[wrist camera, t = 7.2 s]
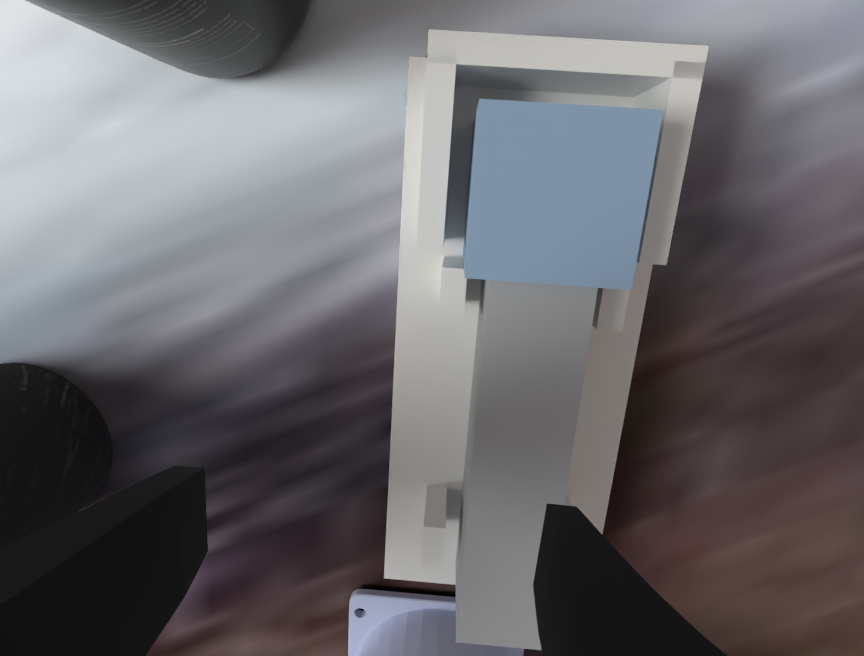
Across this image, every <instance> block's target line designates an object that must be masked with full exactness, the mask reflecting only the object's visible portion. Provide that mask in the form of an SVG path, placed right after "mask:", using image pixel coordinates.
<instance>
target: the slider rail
mask: <svg viewBox="0 0 864 656" xmlns="http://www.w3.org/2000/svg"><path fill="white" fill-rule="evenodd" d="M708 48H709V46H700V45H684V44H667V43H650V42H633V41H617V40H600V39H583V38H567V37H550V36H533V35H516V34H500V33H483V32H466V31H450V30H433V29H429V31H428V49H427V57H414V56H409V65H408V86H407V107H406V128H405V149H404V170H403V191H402V211H401V232H400V253H399V274H398V295H397V316H396V337H395V358H394V379H393V400H392V421H391V441H390V462H389V483H388V504H387V525H386V546H385V567H384V578H386V579H397V580H409V581H420V582H431V583H442V584H454V585H456V552H457V541H458V530H459V519H460V508H461V497H462V486H463V475H464V465H465V454H466V443H467V432H468V421H469V410H470V399H471V389H472V378H473V367H474V356H475V345H476V334H477V323H478V312H479V302H480V291H481V280H482V279H468V278H465V275H464V266H463V245H464V233H465V221H466V208H467V196H468V183H469V171H470V159H471V146H472V134H473V122H474V118H475V114H476V111H477V107H478V103H479V99H493V100H509V101H526V102H542V103H558V104H574V105H591V106H607V107H623V108H639V109H656V110H663V114H662V120H661V126H660V131H659V137H658V143H657V148H656V154H655V160H654V165H653V171H652V177H651V183H650V188H649V194H648V200H647V205H646V211H645V217H644V222H643V228H642V234H641V239H640V245H639V251H638V257H637V262H636V268H635V274H634V279H633V285H632V290H622V289H608V288H598V291H597V297H596V304H595V310H594V317H593V323H592V329H591V336H590V342H589V348H588V355H587V361H586V368H585V374H584V380H583V387H582V393H581V399H580V406H579V412H578V419H577V425H576V431H575V438H574V444H573V450H572V457H571V463H570V470H569V476H568V482H567V489H566V495H565V501H564V505H568V506H576V507H577V508H578V509H579V510H580V511H581V512H582V513H583V514H584V515H585V516H586V517H587V518H588V519H589V520H590V522H591V523H592V524H593V525H594V526H595V527H596V528H597V529H598V531H599V532H600V533H601V534H603V529H604V524H605V518H606V513H607V508H608V502H609V497H610V492H611V486H612V481H613V475H614V470H615V465H616V459H617V454H618V449H619V443H620V438H621V433H622V427H623V422H624V416H625V411H626V406H627V400H628V395H629V390H630V384H631V379H632V374H633V368H634V363H635V357H636V352H637V347H638V341H639V336H640V331H641V325H642V320H643V314H644V309H645V304H646V298H647V293H648V288H649V282H650V277H651V272H652V266H653V264H656V265H667V260H668V255H669V249H670V244H671V239H672V234H673V229H674V224H675V218H676V213H677V208H678V203H679V198H680V193H681V188H682V182H683V177H684V172H685V167H686V162H687V157H688V151H689V146H690V141H691V136H692V131H693V126H694V120H695V115H696V110H697V105H698V100H699V95H700V90H701V84H702V79H703V74H704V69H705V64H706V59H707V53H708Z"/></svg>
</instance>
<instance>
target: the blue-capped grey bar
mask: <svg viewBox="0 0 864 656" xmlns="http://www.w3.org/2000/svg"><path fill="white" fill-rule="evenodd" d="M662 114H663V110H656V109H639V108H623V107H607V106H591V105H574V104H558V103H542V102H526V101H509V100H493V99H479V103H478V107H477V111H476V114H475V118H474V122H473V134H472V146H471V159H470V171H469V183H468V196H467V208H466V221H465V233H464V245H463V266H464V275H465V278H468V279H482V280H481V291H480V302H479V312H478V323H477V334H476V345H475V356H474V367H473V378H472V389H471V399H470V410H469V421H468V432H467V443H466V454H465V465H464V475H463V486H462V497H461V508H460V519H459V530H458V541H457V552H456V642H457V643H468V644H479V645H490V646H501V647H512V648H523V649H534V650H541V644H540V639H539V634H538V625H537V617H536V609H535V599H534V590H533V582H534V576H535V570H536V564H537V558H538V553H539V547H540V541H541V535H542V529H543V523H544V517H545V511H546V505H547V503H548V504H558V505H564V501H565V495H566V489H567V482H568V476H569V470H570V463H571V457H572V450H573V444H574V438H575V431H576V425H577V419H578V412H579V406H580V399H581V393H582V387H583V380H584V374H585V368H586V361H587V355H588V348H589V342H590V336H591V329H592V323H593V317H594V310H595V304H596V297H597V291H598V288H608V289H622V290H632V285H633V279H634V274H635V268H636V262H637V257H638V251H639V245H640V239H641V234H642V228H643V222H644V217H645V211H646V205H647V200H648V194H649V188H650V183H651V177H652V171H653V165H654V160H655V154H656V148H657V143H658V137H659V131H660V126H661V120H662Z"/></svg>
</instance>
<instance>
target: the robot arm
mask: <svg viewBox="0 0 864 656" xmlns="http://www.w3.org/2000/svg"><path fill="white" fill-rule="evenodd" d="M207 551H208V544H207V520H206V497H205V474H204V469H203V468H194V467H184V466H174V467H172V468H169V469H167V470H164V471H162V472H160V473H158V474H156V475H153V476H151V477H149V478H147V479H145V480H143V481H141V482H139V483H137V484H135V485H133V486H131V487H129V488H127V489H125V490H123V491H121V492H119V493H117V494H115V495H113V496H111V497H109V498H107V499H105V500H103V501H101V502H99V503H97V504H95V505H93V506H91V507H89V508H87V509H85V510H83V511H81V512H79V513H77V514H75V515H73V516H71V517H68V518H66V519H64V520H62V521H60V522H58V523H55V524H53V525H51V526H49V527H47V528H45V529H42V530H40V531H38V532H36V533H34V534H32V535H29V536H27V537H25V538H23V539H21V540H18V541H16V542H14V543H12V544H10V545H7V546H5V547H3V548H0V656H145V655H146V654H147V652H148V651H149V649H150V648H151V647H152V645H153V644H154V642H155V641H156V639H157V638H158V636H159V635H160V633H161V632H162V630H163V629H164V627H165V626H166V624H167V623H168V621H169V620H170V618H171V617H172V615H173V614H174V612H175V611H176V609H177V608H178V606H179V604H180V603H181V601H182V600H183V598H184V597H185V595H186V593H187V591H188V589H189V587H190V585H191V583H192V581H193V580H194V578H195V576H196V574H197V572H198V570H199V568H200V566H201V564H202V561H203V559H204V557H205V555H206V553H207ZM533 590H534V599H535V609H536V617H537V625H538V634H539V639H540V644H541V648H542V653H543V656H727V655H725V654H724V653H723V652H722V651H721V650H719V649H718V648H717V647H716V646H715V645H713V644H712V643H711V642H710V641H709V640H707V639H706V638H705V637H704V636H703V635H702V634H701V633H700V632H698V631H697V630H696V629H695V628H694V627H693V626H692V625H691V624H690V623H688V622H687V621H686V620H685V619H684V618H683V617H682V616H681V615H680V614H679V613H678V612H677V611H676V610H675V609H674V608H673V607H671V606H670V605H669V604H668V603H667V602H666V601H665V600H664V599H663V598H662V597H661V596H660V595H659V594H658V593H657V592H656V591H655V590H654V589H653V588H652V587H651V586H650V585H649V584H648V583H647V582H646V581H645V580H644V579H643V578H642V577H641V576H640V575H639V574H638V573H637V572H636V571H635V570H634V569H633V568H632V567H631V565H630V564H629V563H628V562H627V561H626V560H625V559H624V558H623V557H622V556H621V555H620V554H619V553H618V552H617V550H616V549H615V548H614V547H613V546H612V545H611V544H610V543H609V542H608V541H607V539H606V538H605V537H604V536H603V535H602V534H601V533H600V532H599V531H598V529H597V528H596V527H595V526H594V525H593V524H592V523H591V522H590V520H589V519H588V518H587V517H586V516H585V515H584V514H583V513H582V512H581V511H580V510H579V509H578V508H577V507H576V506H568V505H558V504H548V503H547V505H546V511H545V517H544V523H543V529H542V535H541V541H540V547H539V553H538V558H537V564H536V570H535V576H534V582H533ZM358 608H361V609H364V610H363V611H361V610H358ZM523 654H524V649H523V648H512V647H501V646H490V645H479V644H468V643H457V642H456V597H448V596H437V595H425V594H414V593H403V592H392V591H381V590H370V589H357V590H355V591H354V592H353V593H352V594H351V598H350V602H349V639H348V656H523Z"/></svg>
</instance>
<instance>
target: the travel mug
mask: <svg viewBox="0 0 864 656" xmlns="http://www.w3.org/2000/svg"><path fill="white" fill-rule="evenodd" d="M111 457H112V451H111V442H110V438H109V434H108V431H107V429H106V426H105V424H104V422H103V420H102V418H101V416H100V414H99V413H98V411H97V410H96V408H95V407H94V405H93V404H92V403H91V402H90V401H89V399H88V398H87V397H86V396H85V395H84V394H83V393H82V392H81V391H80V390H79V389H77V388H76V387H75V386H73V385H72V384H71V383H70V382H68V381H66V380H65V379H63V378H62V377H60V376H58V375H56V374H54V373H52V372H50V371H47V370H44V369H42V368H39V367H35V366H30V365H25V364H0V548H3V547H5V546H7V545H10V544H12V543H14V542H16V541H18V540H21V539H23V538H25V537H27V536H29V535H32V534H34V533H36V532H38V531H40V530H42V529H45V528H47V527H49V526H51V525H53V524H55V523H58V522H60V521H62V520H64V519H66V518H68V517H71V516H73V515H75V514H76V513H78V512H79V511H80V510H81V509H82V508H83V507H84V506H85V505H86V504H87V503H88V502H89V501H90V500H91V499H92V498H93V497H94V496H95V495H96V494H97V493H98V491H99V490H100V489H101V487H102V486H103V484H104V482H105V481H106V479H107V476H108V474H109V470H110V466H111Z"/></svg>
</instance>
